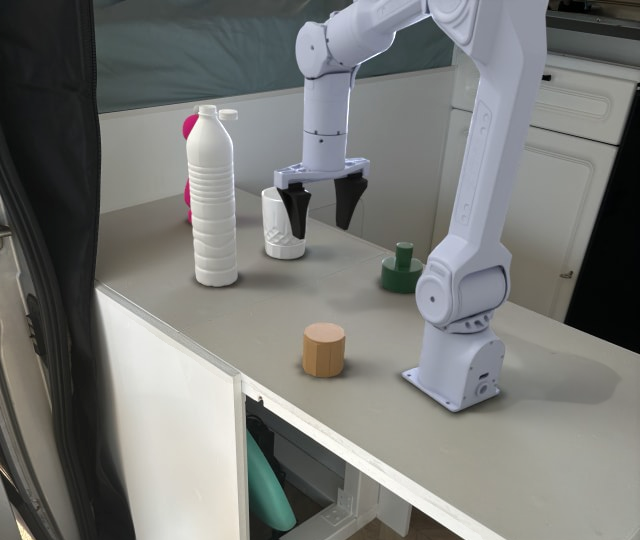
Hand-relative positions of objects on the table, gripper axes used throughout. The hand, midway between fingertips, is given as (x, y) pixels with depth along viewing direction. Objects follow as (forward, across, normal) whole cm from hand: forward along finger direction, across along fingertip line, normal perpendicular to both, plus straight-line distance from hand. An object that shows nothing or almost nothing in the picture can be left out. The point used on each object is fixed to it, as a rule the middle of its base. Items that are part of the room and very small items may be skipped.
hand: (320, 232), depth 93 cm
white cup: (+10, -5, -17) cm, 21 cm away
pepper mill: (+10, 0, -37) cm, 39 cm away
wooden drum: (+10, +11, +17) cm, 22 cm away
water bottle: (+10, +10, -12) cm, 19 cm away
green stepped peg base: (+10, -14, +3) cm, 18 cm away
